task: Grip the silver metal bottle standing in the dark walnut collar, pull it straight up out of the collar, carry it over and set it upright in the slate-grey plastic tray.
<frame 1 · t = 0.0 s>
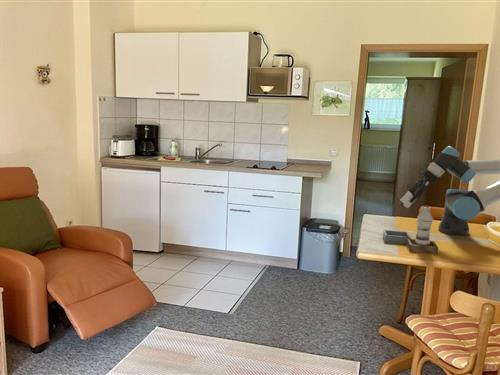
hand: (403, 204, 232), 15 cm above the table, tool tilted 35°, fingers open, 13 cm apart
silver metal bottle: (421, 249, 206), resting in walnut collar
walnut collar: (421, 249, 206), on the table
grey tray: (396, 240, 219), on the table
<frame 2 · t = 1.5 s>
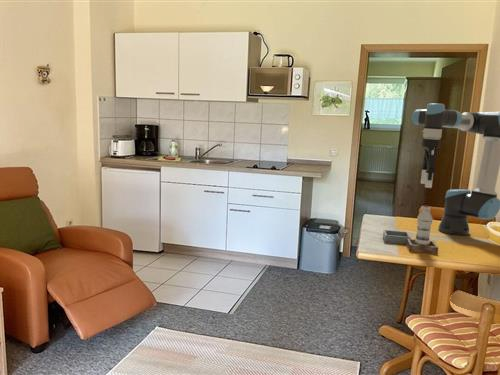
hand: (425, 185, 203), 29 cm above the table, tool pointing down, fingers open, 13 cm apart
nothing on the table moved.
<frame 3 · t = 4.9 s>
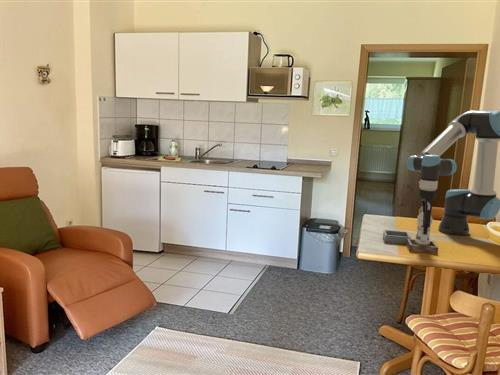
hand: (422, 238, 205), 5 cm above the table, tool pointing down, fingers closed on silver metal bottle, 6 cm apart
silver metal bottle: (421, 249, 206), resting in walnut collar, touching gripper
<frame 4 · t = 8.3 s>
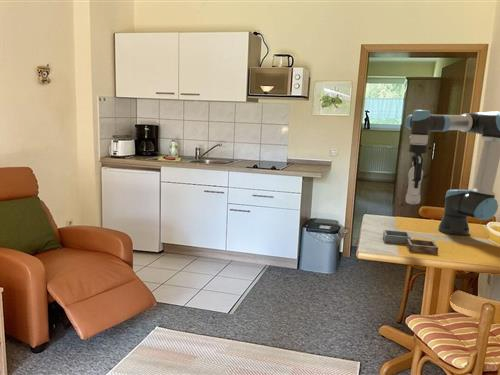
hand: (413, 193, 209), 25 cm above the table, tool pointing down, fingers closed on silver metal bottle, 6 cm apart
silver metal bottle: (412, 204, 209), point 20 cm above the table, touching gripper
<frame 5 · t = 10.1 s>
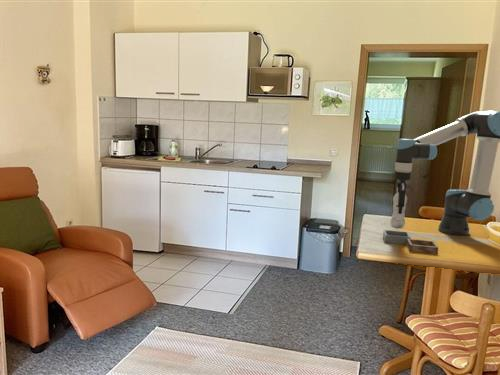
hand: (398, 218, 217), 11 cm above the table, tool pointing down, fingers closed on silver metal bottle, 6 cm apart
silver metal bottle: (397, 228, 218), point 6 cm above the table, touching gripper
when the fingers open (7 cm above the table, at t = 11.6 s): silver metal bottle drops 2 cm, resting on grey tray.
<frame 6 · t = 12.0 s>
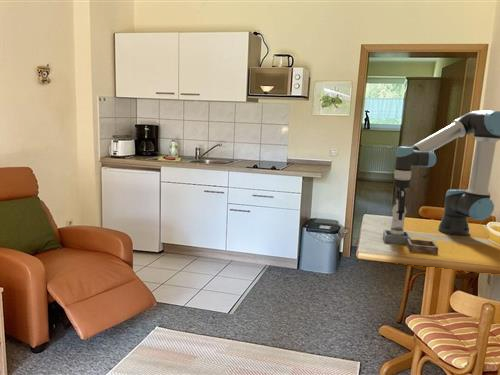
hand: (397, 223, 218), 8 cm above the table, tool pointing down, fingers open, 11 cm apart
silver metal bottle: (395, 239, 219), resting on grey tray
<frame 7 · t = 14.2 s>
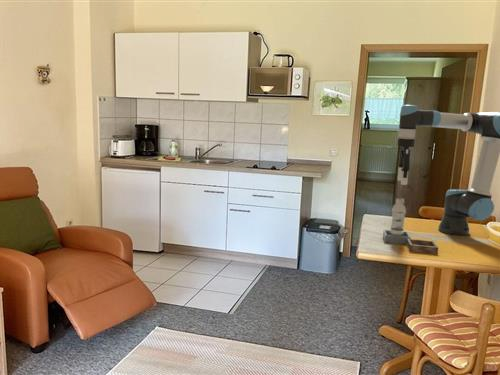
hand: (402, 182, 214), 29 cm above the table, tool pointing down, fingers open, 13 cm apart
nothing on the table moved.
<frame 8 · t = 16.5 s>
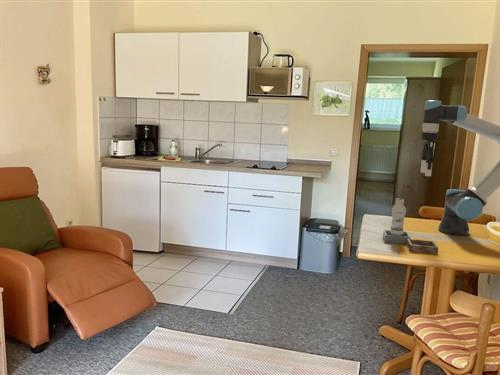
hand: (425, 174, 226), 32 cm above the table, tool pointing down, fingers open, 13 cm apart
nothing on the table moved.
at the end: silver metal bottle inside the target area on the grey tray (0.1 cm from its centre), point 0.4 cm above the grey tray's base; silver metal bottle tilted 0°; the gripper is holding nothing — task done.
